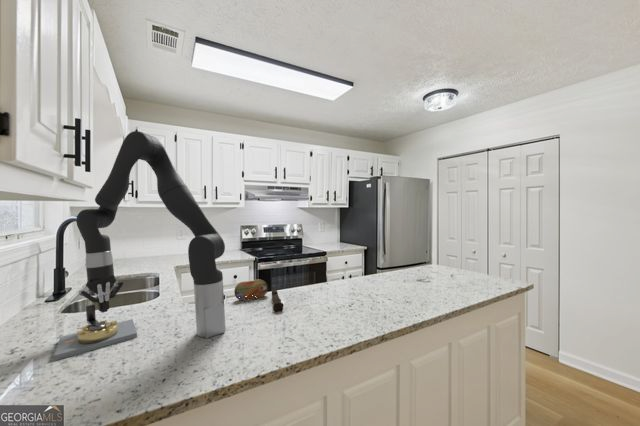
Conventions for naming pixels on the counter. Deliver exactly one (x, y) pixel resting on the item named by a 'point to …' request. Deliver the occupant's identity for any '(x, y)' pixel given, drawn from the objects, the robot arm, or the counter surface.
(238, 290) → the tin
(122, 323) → the base plate
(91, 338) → the lever with gold dial
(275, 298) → the hand tool
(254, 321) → the counter surface
